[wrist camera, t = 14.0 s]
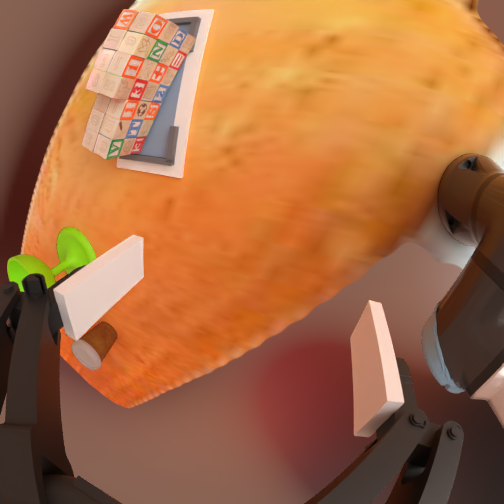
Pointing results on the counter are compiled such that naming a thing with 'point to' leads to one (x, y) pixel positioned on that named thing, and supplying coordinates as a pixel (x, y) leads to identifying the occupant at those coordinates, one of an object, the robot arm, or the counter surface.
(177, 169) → the blueprint board
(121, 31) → the stack of blocks
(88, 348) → the disposable coffee cup
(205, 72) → the counter surface
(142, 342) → the counter surface
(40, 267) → the wineglass
